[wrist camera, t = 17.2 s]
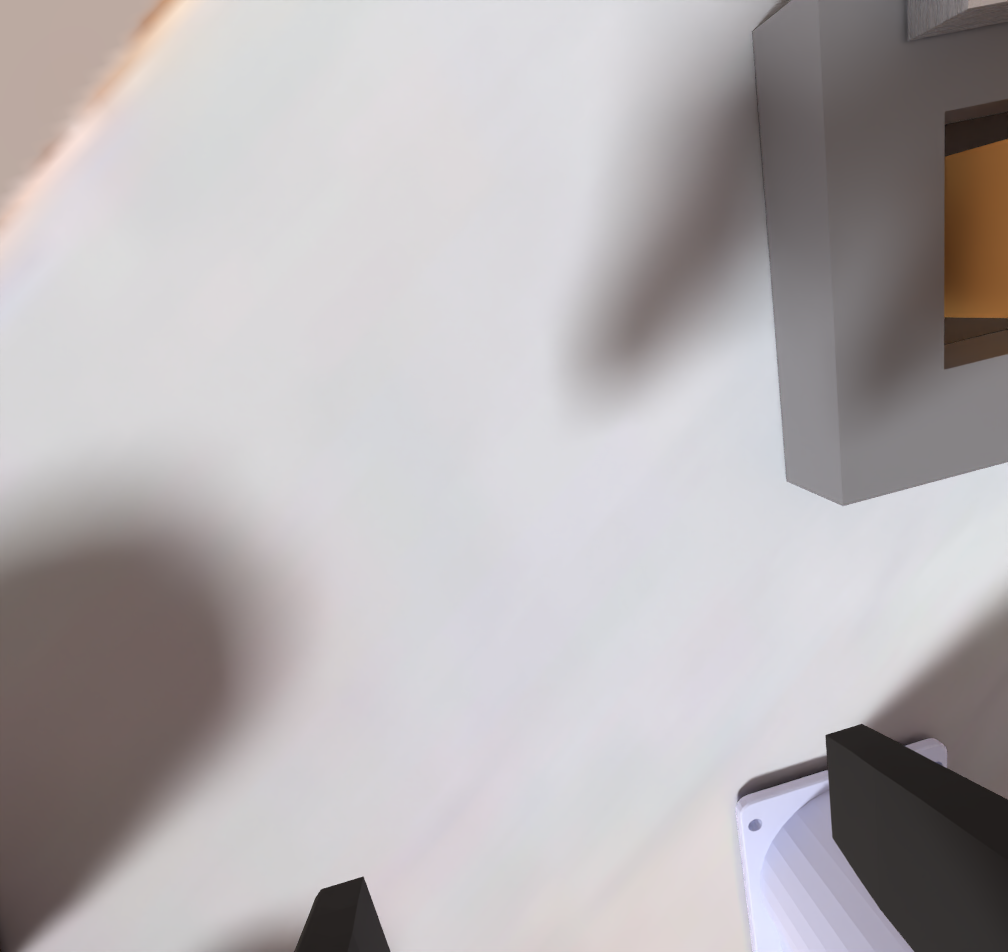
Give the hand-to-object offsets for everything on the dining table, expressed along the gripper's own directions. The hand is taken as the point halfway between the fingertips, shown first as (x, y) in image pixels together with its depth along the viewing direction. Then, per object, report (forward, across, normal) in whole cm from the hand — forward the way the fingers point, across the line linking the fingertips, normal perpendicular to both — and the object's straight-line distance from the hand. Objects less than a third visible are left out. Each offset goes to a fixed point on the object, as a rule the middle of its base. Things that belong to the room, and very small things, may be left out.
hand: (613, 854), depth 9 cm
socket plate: (+9, -15, -7) cm, 19 cm away
